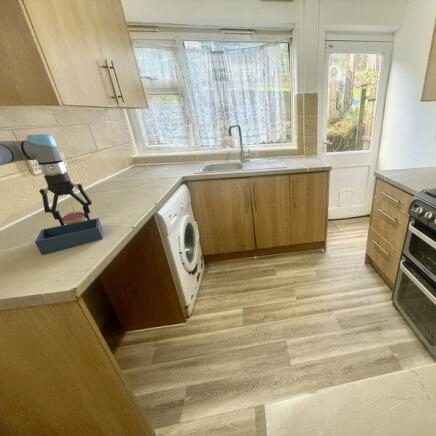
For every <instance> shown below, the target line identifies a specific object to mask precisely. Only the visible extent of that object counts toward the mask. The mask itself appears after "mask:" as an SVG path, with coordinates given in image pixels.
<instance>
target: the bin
mask: <svg viewBox="0 0 436 436" xmlns="http://www.w3.org/2000/svg"><path fill="white" fill-rule="evenodd" d="M103 231H104V228H103V225H102V223H101V220H100V218H99V217H96V218H92V219H91V218H90V220H87V219H85V221H81V222H76V223H71V224H64V225H62V226H61V225H57V226H53V227H52V226H51V227H48V228H43V229H40V232H39V233H38V235H37V237H36V239H35V240H34V243H35V245H36V246H37V249H38V251H39V252H40V255H46V254H51V253H55V252H57V251H63V250H67V249H71V248H75V247H79V246H83V245H86V244H91V243H94V242H98V241H102V240H103V239H104V238H103V237H104V235H103V234H104V232H103Z"/></svg>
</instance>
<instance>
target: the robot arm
mask: <svg viewBox="0 0 436 436" xmlns="http://www.w3.org/2000/svg"><path fill="white" fill-rule="evenodd" d="M23 161H24V162H25V161H26V162H27V161H36V162H37V165H38V166H39V168H40V171H41V173H42V174H43V178H44V180H45V182H46V184H47V187H45V188H40V189H39V193H40V195H41V197H42V198H41V199H42V204H43V210H44V213H46V214H47V213H50V214H51V215H52V217H53V219H54V220H56V221H57V220H58V223H59V225H60V226H62V225H65V224H64V223H63V222H62V218H63V217H62V216H61V212H60V211H59V210H57V206H58V201H59V197H61V196H67V195H70V196H71V197H72V198H73V199H75V200H76V201H77V202H78V203H79V204H81V205H82V210H83V213H85V215H86V218H85V219H86V220H91V218H90V215H89V214H90V213H91V210H90V207H89V206H91V205H92V204H93V201H92V200H91V198H90V197H89V195H88V194H87V192H86V191H85V190H84V188H83V184H82V183H81V182H79V183H74V182H72V181H71V178H70V174H69V172H67V167H66V166H65V165H66V164H65V162H64V160H63V159H62V156H61V153H60V150H59V148H58V144H57V143H56V141H55V139H54V136H52V135H51V134H49V133H39V134H38V133H36V134H27V135H26V139H25V140H0V167H1V166H4V165H10V164H12V163H17V162H23ZM74 188H75V189H77V190H78V191H79V193H80V195H82V197H83V198H84V199H83V198H81V197H80V196H79V195H78V194H77V193H76V192H75V191H74V190H73V189H74ZM49 192H50V193H53V198H52V205H51V208H50V203H49V198H48V193H49Z"/></svg>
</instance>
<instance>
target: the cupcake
mask: <svg viewBox="0 0 436 436" xmlns="http://www.w3.org/2000/svg"><path fill="white" fill-rule="evenodd" d="M70 204H71V207H72V210H73V211H72V212H71V211H70V212H68V213H67V214H65V215H64V216H63V217H61V218H62V222H63V223H64V225H67V224H71V223H76V222H81V221H86V219H87V218H86V215H85V213H84V211H83V212H82V211H77V210H76V208H75V204H74V202H73V201H71V203H70Z"/></svg>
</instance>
